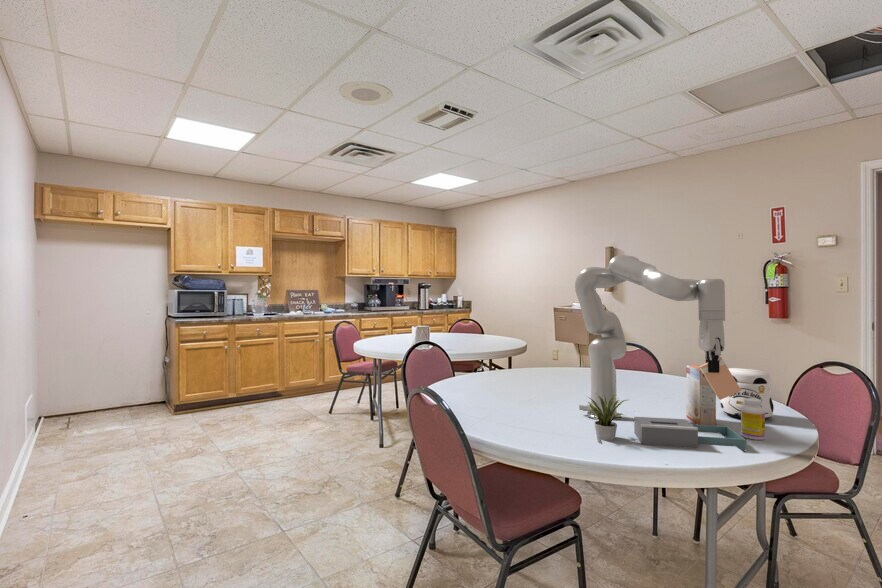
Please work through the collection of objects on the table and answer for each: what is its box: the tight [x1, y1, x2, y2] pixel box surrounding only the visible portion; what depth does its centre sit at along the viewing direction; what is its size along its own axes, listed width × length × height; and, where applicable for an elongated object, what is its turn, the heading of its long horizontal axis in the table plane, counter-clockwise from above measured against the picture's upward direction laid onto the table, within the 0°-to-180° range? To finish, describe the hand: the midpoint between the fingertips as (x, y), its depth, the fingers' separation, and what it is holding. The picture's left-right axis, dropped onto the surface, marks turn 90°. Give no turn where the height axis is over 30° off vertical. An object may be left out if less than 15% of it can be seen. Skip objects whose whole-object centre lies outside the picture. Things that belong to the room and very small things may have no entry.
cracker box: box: [685, 364, 717, 426], centre depth 168 cm, size 14×6×21 cm, turn 168°
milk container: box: [719, 367, 775, 420], centre depth 175 cm, size 17×17×18 cm
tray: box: [690, 423, 747, 451], centre depth 145 cm, size 14×14×4 cm
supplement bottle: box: [740, 398, 766, 441], centre depth 150 cm, size 7×7×13 cm
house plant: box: [586, 393, 628, 445], centre depth 146 cm, size 14×14×16 cm
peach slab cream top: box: [699, 356, 741, 401], centre depth 145 cm, size 7×2×12 cm, turn 77°
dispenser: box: [633, 416, 699, 449], centre depth 143 cm, size 16×12×8 cm
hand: (712, 371), depth 145 cm, fingers closed on peach slab cream top, 1 cm apart
